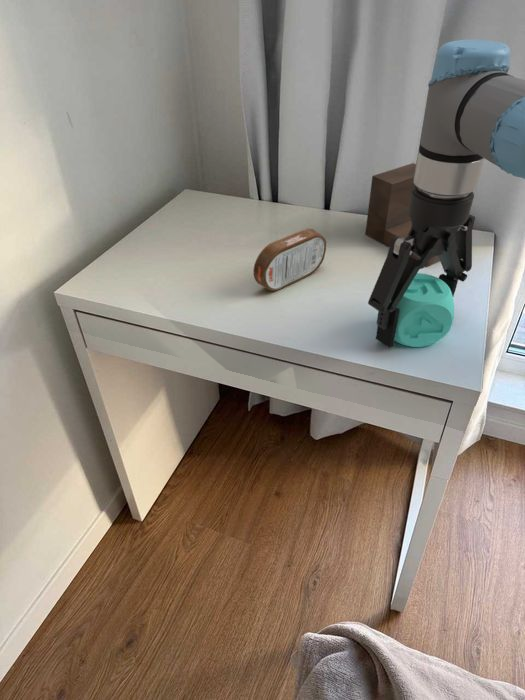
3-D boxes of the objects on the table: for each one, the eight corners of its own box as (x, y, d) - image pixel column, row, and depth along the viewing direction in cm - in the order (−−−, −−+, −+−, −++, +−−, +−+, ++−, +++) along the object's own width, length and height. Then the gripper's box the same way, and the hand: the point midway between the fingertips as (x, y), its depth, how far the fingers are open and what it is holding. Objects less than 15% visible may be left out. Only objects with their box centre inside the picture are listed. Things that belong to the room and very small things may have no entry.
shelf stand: (465, 249, 95) (482, 188, 87) (426, 267, 90) (440, 204, 82) (403, 220, 105) (413, 162, 97) (365, 234, 100) (372, 175, 93)
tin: (315, 262, 92) (318, 220, 87) (327, 269, 90) (331, 226, 85) (252, 292, 85) (251, 248, 80) (264, 300, 83) (263, 255, 78)
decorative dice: (446, 346, 73) (459, 301, 68) (393, 349, 73) (401, 304, 67) (429, 314, 79) (439, 270, 74) (379, 317, 79) (386, 273, 74)
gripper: (478, 158, 69) (444, 290, 83) (350, 201, 59) (337, 344, 73) (528, 174, 64) (483, 312, 78) (398, 224, 54) (373, 372, 68)
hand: (412, 327), depth 75 cm, fingers open, 11 cm apart
